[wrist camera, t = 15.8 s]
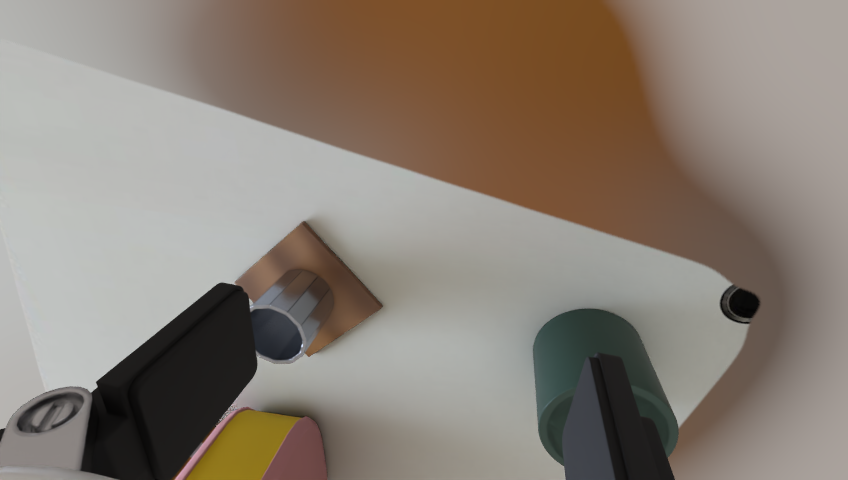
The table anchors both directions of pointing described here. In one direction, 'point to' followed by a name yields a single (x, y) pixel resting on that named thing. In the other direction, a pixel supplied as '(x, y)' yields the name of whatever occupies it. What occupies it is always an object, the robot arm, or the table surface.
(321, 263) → the coaster mat
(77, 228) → the table surface
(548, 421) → the dark green cylinder
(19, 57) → the table surface
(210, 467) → the alarm clock
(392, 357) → the table surface
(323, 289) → the cup
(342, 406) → the table surface
